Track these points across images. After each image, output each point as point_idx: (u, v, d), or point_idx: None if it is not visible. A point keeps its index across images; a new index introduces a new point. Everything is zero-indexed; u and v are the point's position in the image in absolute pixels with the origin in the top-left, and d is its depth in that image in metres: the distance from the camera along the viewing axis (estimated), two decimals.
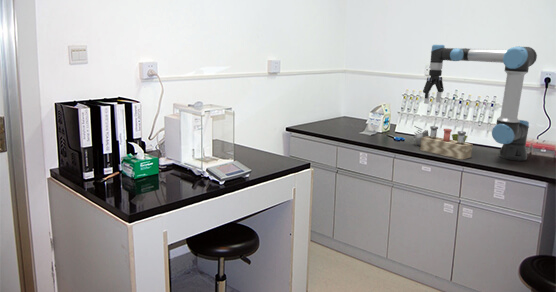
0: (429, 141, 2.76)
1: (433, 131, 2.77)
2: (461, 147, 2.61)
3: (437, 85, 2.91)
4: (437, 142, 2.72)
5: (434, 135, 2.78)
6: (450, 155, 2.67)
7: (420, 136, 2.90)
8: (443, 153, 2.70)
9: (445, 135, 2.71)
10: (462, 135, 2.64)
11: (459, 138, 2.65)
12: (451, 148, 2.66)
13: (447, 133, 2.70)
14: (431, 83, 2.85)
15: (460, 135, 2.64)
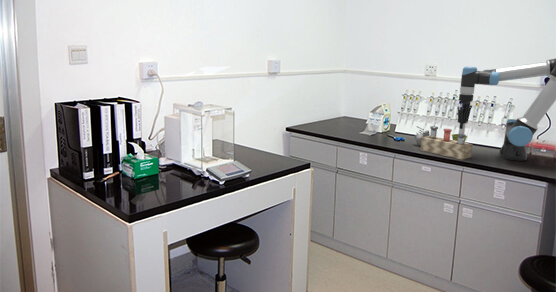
0: (429, 141, 2.76)
1: (433, 131, 2.77)
2: (461, 147, 2.61)
3: None
4: (437, 142, 2.72)
5: (434, 135, 2.78)
6: (450, 155, 2.67)
7: (421, 136, 2.90)
8: (443, 153, 2.70)
9: (445, 135, 2.71)
10: (462, 138, 2.64)
11: (459, 141, 2.65)
12: (451, 148, 2.66)
13: (447, 133, 2.70)
14: (463, 111, 2.61)
15: (460, 138, 2.64)
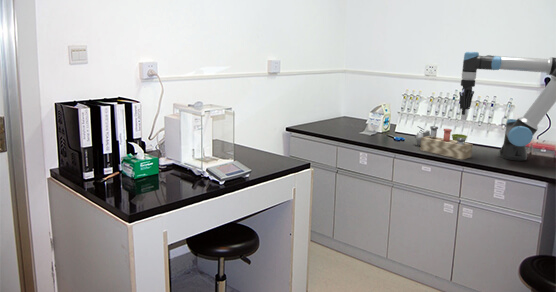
0: (429, 141, 2.76)
1: (433, 131, 2.77)
2: (461, 147, 2.61)
3: None
4: (437, 142, 2.72)
5: (434, 135, 2.78)
6: (450, 155, 2.67)
7: (421, 136, 2.90)
8: (443, 153, 2.70)
9: (445, 135, 2.71)
10: (461, 142, 2.65)
11: None
12: (451, 148, 2.66)
13: (447, 133, 2.70)
14: (465, 96, 2.59)
15: (459, 142, 2.65)
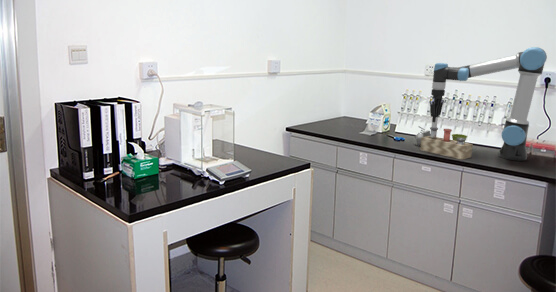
0: (429, 141, 2.76)
1: (433, 132, 2.77)
2: (461, 147, 2.61)
3: None
4: (437, 142, 2.72)
5: (434, 136, 2.78)
6: (450, 155, 2.67)
7: (421, 136, 2.90)
8: (443, 153, 2.70)
9: (445, 135, 2.71)
10: (461, 142, 2.65)
11: None
12: (451, 148, 2.66)
13: (447, 133, 2.70)
14: (435, 105, 2.74)
15: (459, 142, 2.65)
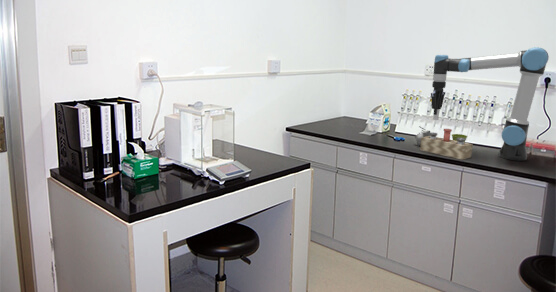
0: (429, 141, 2.76)
1: (432, 137, 2.78)
2: (461, 147, 2.61)
3: None
4: (437, 142, 2.72)
5: None
6: (450, 155, 2.67)
7: (421, 136, 2.90)
8: (443, 153, 2.70)
9: (445, 135, 2.71)
10: (461, 142, 2.65)
11: None
12: (451, 148, 2.66)
13: (447, 133, 2.70)
14: (436, 97, 2.72)
15: (459, 142, 2.65)
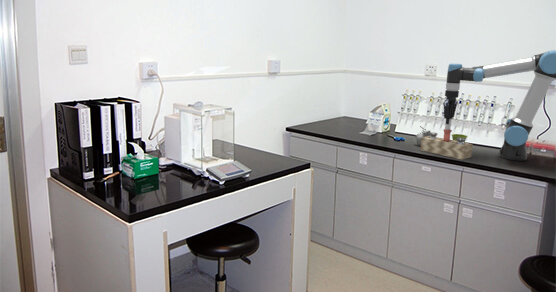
0: (429, 141, 2.76)
1: (432, 137, 2.78)
2: (461, 147, 2.61)
3: None
4: (437, 142, 2.72)
5: None
6: (450, 155, 2.67)
7: (421, 136, 2.90)
8: (443, 153, 2.70)
9: (445, 135, 2.71)
10: (461, 142, 2.65)
11: None
12: (451, 148, 2.66)
13: (447, 133, 2.71)
14: (449, 107, 2.67)
15: (459, 142, 2.65)
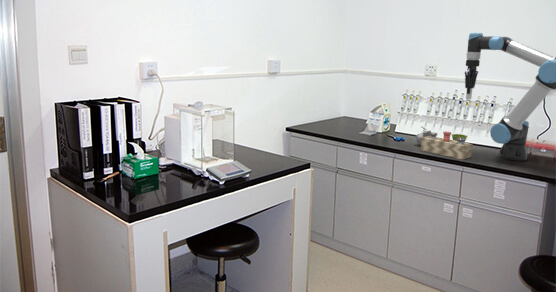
0: (429, 141, 2.76)
1: (432, 137, 2.78)
2: (461, 147, 2.61)
3: None
4: (437, 142, 2.72)
5: None
6: (450, 155, 2.67)
7: (421, 136, 2.90)
8: (443, 153, 2.70)
9: (445, 138, 2.72)
10: (461, 142, 2.65)
11: None
12: (451, 148, 2.66)
13: (447, 136, 2.71)
14: (470, 76, 2.70)
15: (459, 142, 2.65)
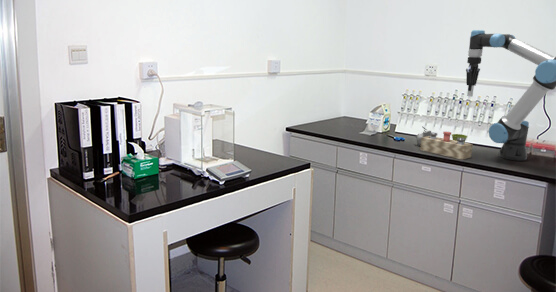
0: (429, 141, 2.76)
1: (432, 137, 2.78)
2: (461, 147, 2.61)
3: None
4: (437, 142, 2.72)
5: None
6: (450, 155, 2.67)
7: (421, 136, 2.90)
8: (443, 153, 2.70)
9: (445, 138, 2.72)
10: (461, 142, 2.65)
11: None
12: (451, 148, 2.66)
13: (447, 136, 2.71)
14: (471, 73, 2.70)
15: (459, 142, 2.65)
